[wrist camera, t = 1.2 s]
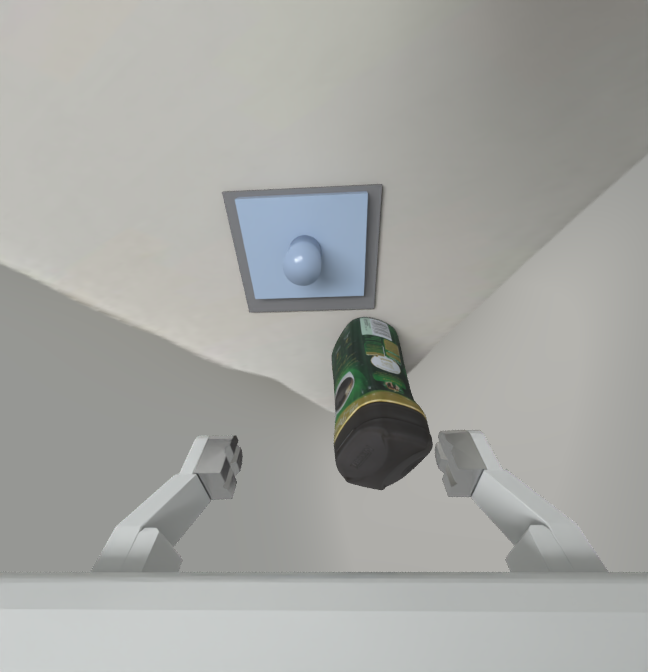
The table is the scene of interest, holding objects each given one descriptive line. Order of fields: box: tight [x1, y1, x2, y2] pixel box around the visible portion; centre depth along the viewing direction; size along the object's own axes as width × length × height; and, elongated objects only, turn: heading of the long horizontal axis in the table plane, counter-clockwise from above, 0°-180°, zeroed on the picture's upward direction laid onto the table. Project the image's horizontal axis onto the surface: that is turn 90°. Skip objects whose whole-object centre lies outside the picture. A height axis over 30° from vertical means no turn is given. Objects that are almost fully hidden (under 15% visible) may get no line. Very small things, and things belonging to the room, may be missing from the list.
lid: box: [235, 191, 368, 299], centre depth 29 cm, size 11×13×6 cm
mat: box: [222, 184, 382, 312], centre depth 33 cm, size 14×16×1 cm
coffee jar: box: [332, 317, 433, 490], centre depth 32 cm, size 10×8×19 cm
